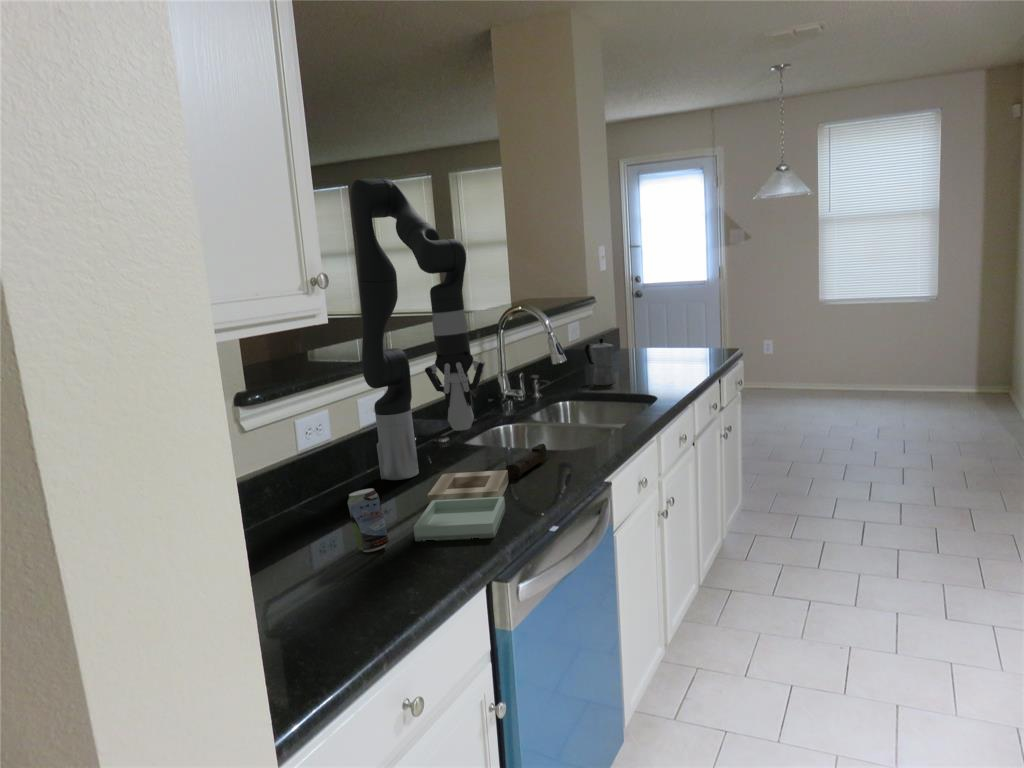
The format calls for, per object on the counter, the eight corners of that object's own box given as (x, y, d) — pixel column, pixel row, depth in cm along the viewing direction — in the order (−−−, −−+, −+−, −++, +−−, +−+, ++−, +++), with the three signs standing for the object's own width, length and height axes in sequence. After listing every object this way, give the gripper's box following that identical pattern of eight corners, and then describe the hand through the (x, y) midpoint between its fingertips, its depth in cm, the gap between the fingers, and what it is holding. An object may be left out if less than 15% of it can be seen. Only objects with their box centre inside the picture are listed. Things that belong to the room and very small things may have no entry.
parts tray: (415, 541, 152) (413, 527, 152) (433, 513, 168) (432, 500, 167) (494, 537, 150) (492, 523, 149) (505, 509, 165) (504, 496, 165)
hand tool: (519, 480, 186) (518, 462, 185) (505, 479, 188) (504, 461, 187) (556, 459, 202) (554, 442, 201) (542, 458, 204) (541, 441, 203)
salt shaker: (455, 433, 167) (448, 374, 165) (445, 429, 173) (438, 372, 170) (479, 427, 170) (472, 370, 168) (468, 424, 175) (462, 368, 173)
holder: (429, 507, 172) (427, 494, 171) (444, 485, 187) (443, 473, 187) (499, 504, 170) (497, 491, 169) (508, 481, 185) (507, 470, 185)
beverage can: (375, 557, 146) (366, 497, 144) (347, 552, 150) (338, 494, 148) (396, 545, 151) (389, 487, 149) (369, 540, 155) (361, 484, 153)
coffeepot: (625, 382, 301) (621, 336, 298) (610, 386, 294) (606, 340, 291) (595, 380, 312) (591, 336, 309) (579, 384, 305) (576, 339, 302)
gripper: (415, 336, 165) (425, 414, 168) (479, 330, 163) (488, 409, 166) (423, 332, 172) (433, 407, 175) (484, 326, 170) (493, 402, 173)
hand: (459, 408), depth 171 cm, fingers closed on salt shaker, 3 cm apart
